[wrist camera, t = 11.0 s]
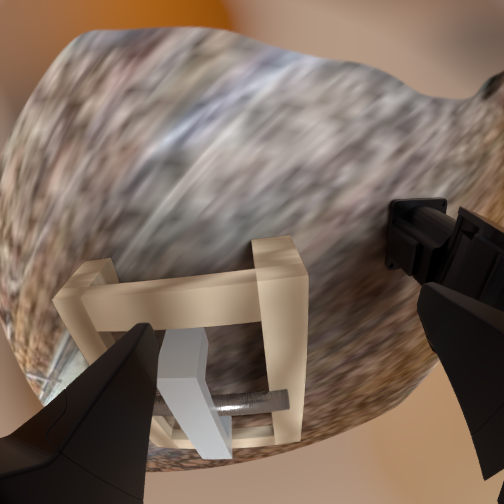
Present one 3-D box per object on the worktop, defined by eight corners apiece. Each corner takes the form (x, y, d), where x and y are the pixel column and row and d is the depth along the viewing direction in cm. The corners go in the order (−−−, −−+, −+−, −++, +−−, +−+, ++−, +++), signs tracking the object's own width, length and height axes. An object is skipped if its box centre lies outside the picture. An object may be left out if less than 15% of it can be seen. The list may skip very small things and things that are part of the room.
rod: (286, 383, 21) (289, 402, 19) (286, 395, 22) (289, 413, 20) (123, 389, 21) (118, 406, 19) (132, 401, 22) (128, 417, 20)
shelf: (289, 235, 21) (308, 274, 15) (292, 403, 32) (300, 441, 26) (84, 261, 21) (51, 299, 15) (162, 411, 31) (157, 446, 26)
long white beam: (203, 324, 20) (196, 377, 15) (231, 417, 26) (232, 458, 21) (167, 327, 20) (152, 378, 15) (205, 418, 26) (202, 458, 21)
